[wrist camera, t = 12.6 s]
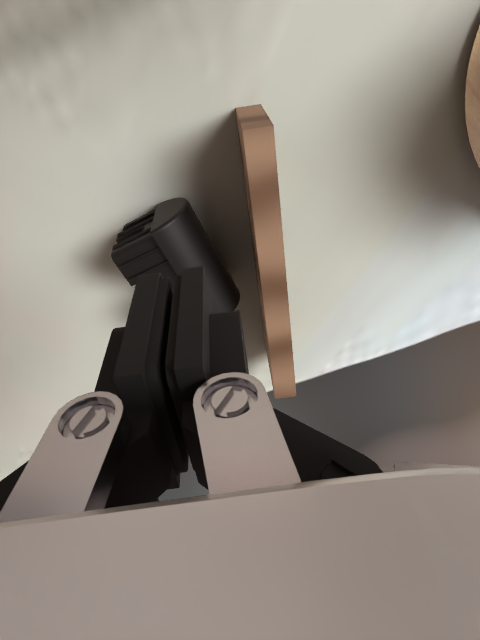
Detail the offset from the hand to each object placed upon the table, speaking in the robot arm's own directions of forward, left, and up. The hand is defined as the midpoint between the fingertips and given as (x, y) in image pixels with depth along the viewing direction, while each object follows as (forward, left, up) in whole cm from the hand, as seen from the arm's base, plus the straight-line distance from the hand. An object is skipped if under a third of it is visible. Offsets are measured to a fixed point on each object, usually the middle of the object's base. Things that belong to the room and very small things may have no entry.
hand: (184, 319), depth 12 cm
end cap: (+11, -4, -29) cm, 32 cm away
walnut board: (+12, +4, -29) cm, 32 cm away
